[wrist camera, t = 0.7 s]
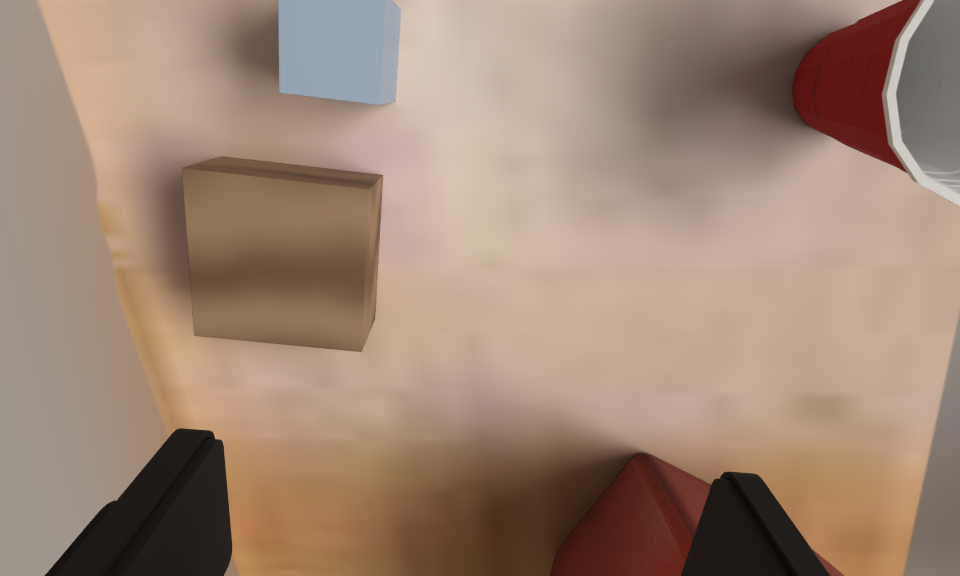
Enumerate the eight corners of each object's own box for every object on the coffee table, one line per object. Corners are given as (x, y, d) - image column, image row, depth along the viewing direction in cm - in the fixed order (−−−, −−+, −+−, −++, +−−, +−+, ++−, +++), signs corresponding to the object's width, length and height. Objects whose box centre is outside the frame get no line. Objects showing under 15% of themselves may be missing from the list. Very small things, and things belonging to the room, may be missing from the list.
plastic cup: (944, -39, 30) (1221, -111, 19) (917, 154, 34) (1136, 188, 23) (751, -8, 31) (912, -61, 20) (746, 180, 35) (878, 225, 23)
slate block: (313, -2, 31) (278, -21, 25) (401, 10, 31) (386, -7, 25) (312, 91, 32) (279, 92, 27) (395, 101, 33) (380, 105, 27)
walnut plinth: (222, 156, 34) (181, 168, 29) (382, 175, 34) (369, 189, 29) (229, 304, 37) (194, 335, 32) (375, 318, 38) (361, 351, 33)
